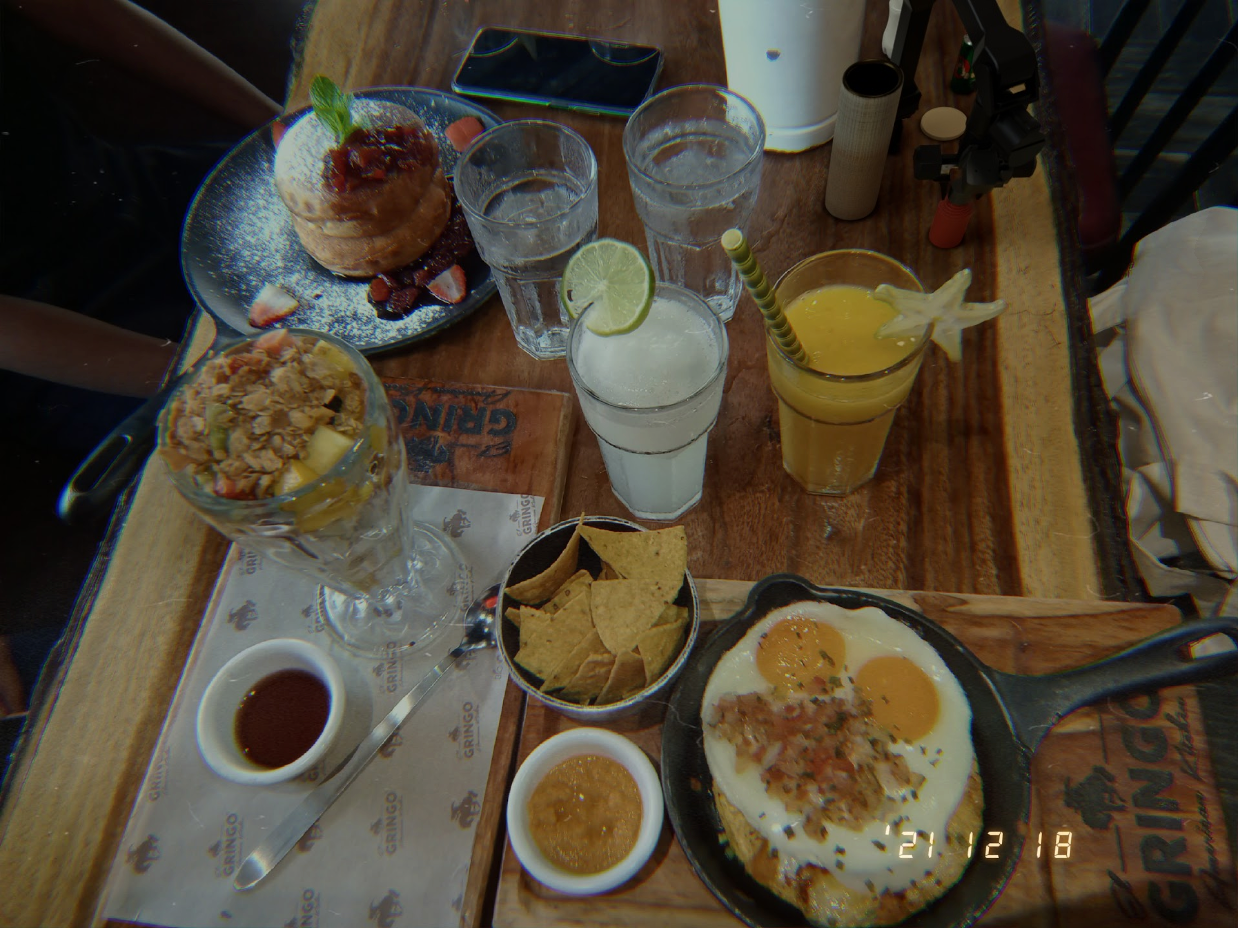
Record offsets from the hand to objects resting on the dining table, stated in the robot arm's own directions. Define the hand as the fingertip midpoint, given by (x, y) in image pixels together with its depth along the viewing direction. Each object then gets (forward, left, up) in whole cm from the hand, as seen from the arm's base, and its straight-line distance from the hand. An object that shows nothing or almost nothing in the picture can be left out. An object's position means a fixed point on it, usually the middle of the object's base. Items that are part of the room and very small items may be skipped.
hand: (959, 198), depth 131 cm
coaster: (+3, +30, -10) cm, 32 cm away
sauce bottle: (0, 0, -10) cm, 10 cm away
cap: (0, 0, +2) cm, 3 cm away
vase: (-17, +10, -10) cm, 22 cm away
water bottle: (-4, +54, -10) cm, 55 cm away
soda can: (+8, +41, -10) cm, 43 cm away
